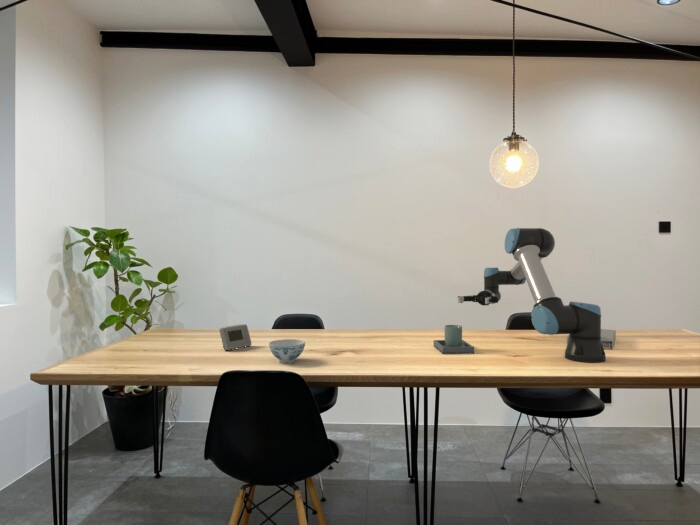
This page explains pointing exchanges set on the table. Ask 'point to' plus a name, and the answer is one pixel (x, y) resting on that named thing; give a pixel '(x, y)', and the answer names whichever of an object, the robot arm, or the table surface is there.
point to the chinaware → (287, 349)
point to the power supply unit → (606, 338)
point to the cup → (453, 335)
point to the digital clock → (235, 336)
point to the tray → (453, 348)
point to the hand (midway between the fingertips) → (471, 300)
